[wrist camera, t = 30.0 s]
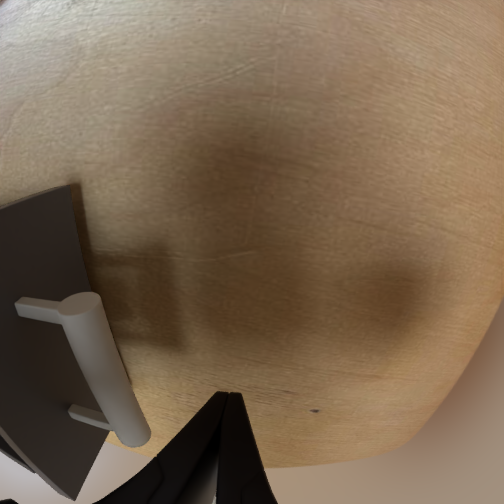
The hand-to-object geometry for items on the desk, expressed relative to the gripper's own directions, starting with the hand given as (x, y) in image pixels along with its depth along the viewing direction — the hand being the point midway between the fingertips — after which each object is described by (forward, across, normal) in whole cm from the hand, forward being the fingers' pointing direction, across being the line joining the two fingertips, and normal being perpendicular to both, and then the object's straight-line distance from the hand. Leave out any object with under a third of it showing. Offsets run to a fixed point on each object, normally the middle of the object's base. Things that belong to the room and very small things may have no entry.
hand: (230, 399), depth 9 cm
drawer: (+5, +14, 0) cm, 15 cm away
